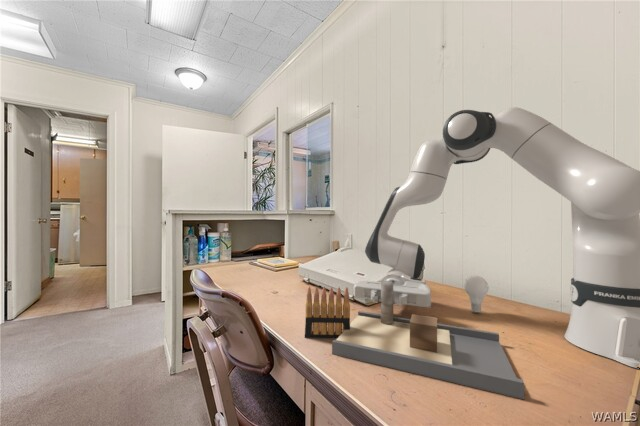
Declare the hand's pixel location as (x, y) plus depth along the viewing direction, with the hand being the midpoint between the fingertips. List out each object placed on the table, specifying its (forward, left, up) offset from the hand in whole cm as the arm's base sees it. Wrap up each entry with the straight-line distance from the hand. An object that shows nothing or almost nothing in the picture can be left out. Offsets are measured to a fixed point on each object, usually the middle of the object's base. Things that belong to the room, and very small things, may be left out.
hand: (386, 301), depth 65 cm
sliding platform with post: (-3, +6, -6) cm, 9 cm away
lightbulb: (-22, -25, -8) cm, 34 cm away
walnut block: (-9, +8, -6) cm, 13 cm away
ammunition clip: (+12, +8, -8) cm, 17 cm away
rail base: (-8, +6, -8) cm, 12 cm away
